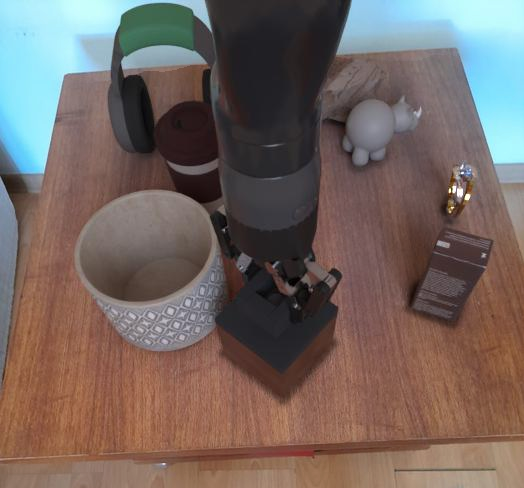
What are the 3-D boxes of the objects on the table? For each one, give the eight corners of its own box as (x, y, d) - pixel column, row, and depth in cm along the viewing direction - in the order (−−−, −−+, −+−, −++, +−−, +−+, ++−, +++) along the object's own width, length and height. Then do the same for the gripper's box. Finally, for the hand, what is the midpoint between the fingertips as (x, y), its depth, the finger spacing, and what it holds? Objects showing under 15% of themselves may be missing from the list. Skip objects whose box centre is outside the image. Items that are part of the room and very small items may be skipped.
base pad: (271, 266, 59) (270, 248, 55) (338, 312, 56) (341, 295, 52) (215, 323, 56) (210, 307, 53) (282, 374, 53) (281, 360, 49)
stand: (273, 301, 66) (271, 266, 59) (332, 342, 63) (338, 312, 56) (223, 352, 63) (215, 323, 56) (283, 399, 60) (282, 374, 53)
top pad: (275, 271, 55) (274, 255, 52) (314, 298, 53) (315, 283, 50) (237, 309, 53) (234, 295, 50) (276, 338, 51) (275, 325, 48)
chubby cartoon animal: (424, 154, 76) (439, 106, 68) (352, 174, 75) (359, 128, 67) (404, 124, 79) (417, 74, 71) (335, 142, 78) (340, 94, 70)
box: (461, 296, 65) (496, 239, 54) (452, 323, 63) (487, 270, 52) (417, 281, 66) (442, 223, 55) (407, 308, 65) (431, 253, 54)
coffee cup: (251, 188, 75) (242, 102, 61) (222, 236, 71) (206, 156, 58) (194, 170, 77) (174, 83, 63) (163, 216, 73) (135, 134, 60)
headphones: (240, 113, 82) (226, -18, 64) (242, 161, 77) (228, 34, 59) (129, 122, 82) (84, -6, 64) (124, 170, 78) (74, 47, 60)
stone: (386, 95, 82) (351, 43, 78) (409, 91, 75) (372, 33, 70) (320, 159, 85) (283, 112, 81) (336, 162, 77) (296, 110, 73)
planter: (244, 266, 69) (236, 203, 57) (206, 369, 62) (187, 321, 51) (138, 242, 71) (109, 178, 60) (91, 339, 65) (48, 287, 53)
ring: (438, 190, 73) (455, 147, 66) (460, 193, 72) (479, 150, 65) (436, 227, 70) (453, 186, 63) (459, 230, 70) (478, 189, 62)
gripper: (376, 203, 36) (350, 314, 51) (234, 120, 41) (248, 245, 56) (314, 269, 34) (306, 365, 49) (170, 173, 38) (204, 289, 54)
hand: (275, 301), depth 52 cm, fingers closed on top pad, 5 cm apart
